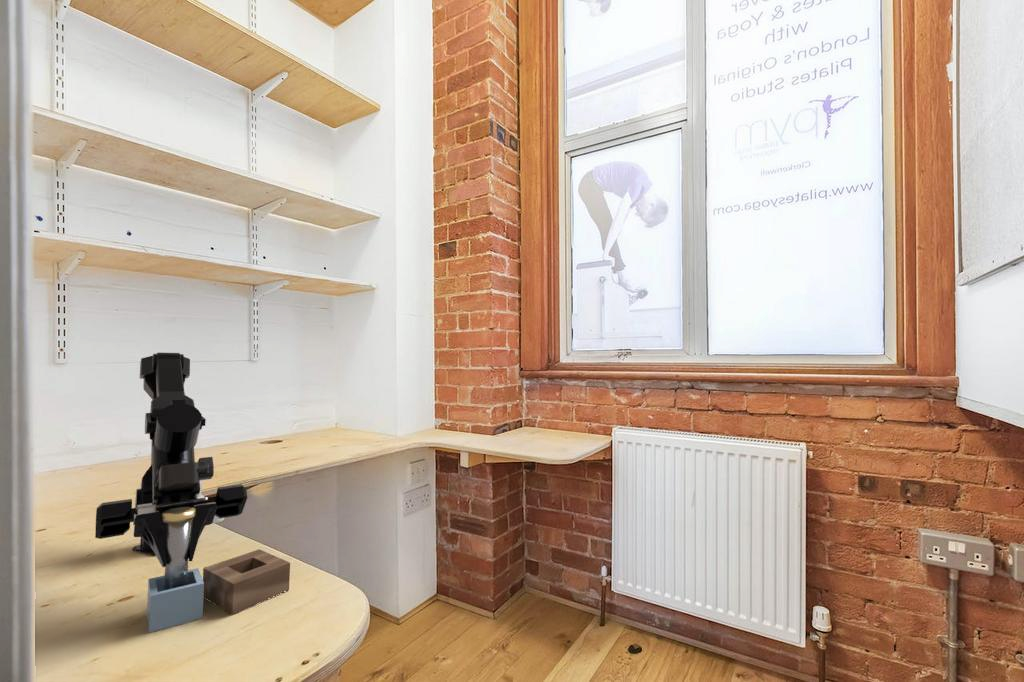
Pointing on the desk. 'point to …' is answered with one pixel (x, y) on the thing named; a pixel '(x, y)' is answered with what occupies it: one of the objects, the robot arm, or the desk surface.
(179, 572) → the pin
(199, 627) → the desk surface
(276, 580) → the hitch block
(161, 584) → the holder
